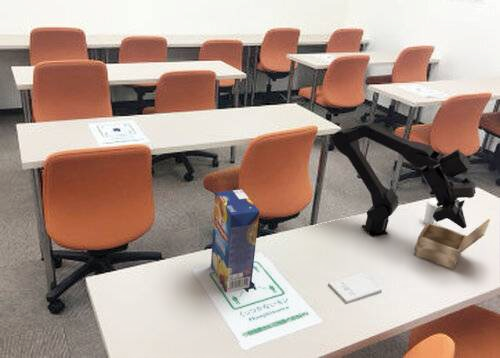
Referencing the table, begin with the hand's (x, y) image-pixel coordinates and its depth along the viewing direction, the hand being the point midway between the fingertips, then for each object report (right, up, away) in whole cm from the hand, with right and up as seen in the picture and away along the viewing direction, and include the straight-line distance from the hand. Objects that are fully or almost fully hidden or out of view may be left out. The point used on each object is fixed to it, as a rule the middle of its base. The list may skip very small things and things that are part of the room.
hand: (464, 227), depth 139 cm
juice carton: (-70, -13, -11) cm, 72 cm away
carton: (-5, -9, +8) cm, 13 cm away
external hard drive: (-36, -17, -10) cm, 41 cm away
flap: (+2, -2, -1) cm, 3 cm away
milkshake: (-1, -1, +25) cm, 25 cm away
